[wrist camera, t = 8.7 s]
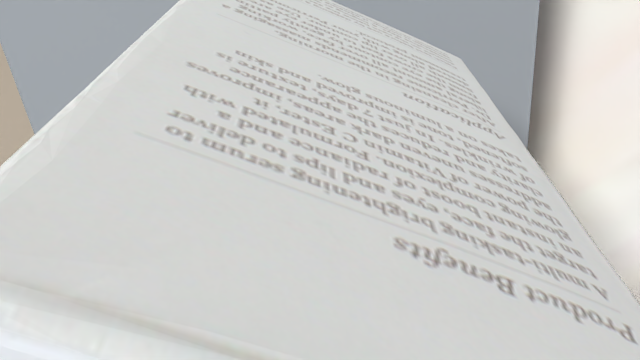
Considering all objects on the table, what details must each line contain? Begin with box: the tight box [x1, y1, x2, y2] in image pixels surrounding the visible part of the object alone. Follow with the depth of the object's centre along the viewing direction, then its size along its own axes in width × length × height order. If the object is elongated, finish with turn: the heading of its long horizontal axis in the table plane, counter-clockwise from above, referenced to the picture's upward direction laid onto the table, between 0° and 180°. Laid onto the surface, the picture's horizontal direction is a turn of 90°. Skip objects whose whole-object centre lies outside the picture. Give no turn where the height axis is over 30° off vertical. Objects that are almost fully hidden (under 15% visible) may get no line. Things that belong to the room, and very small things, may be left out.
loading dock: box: [0, 0, 540, 149], centre depth 18 cm, size 18×15×6 cm
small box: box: [0, 0, 640, 360], centre depth 9 cm, size 8×6×10 cm
